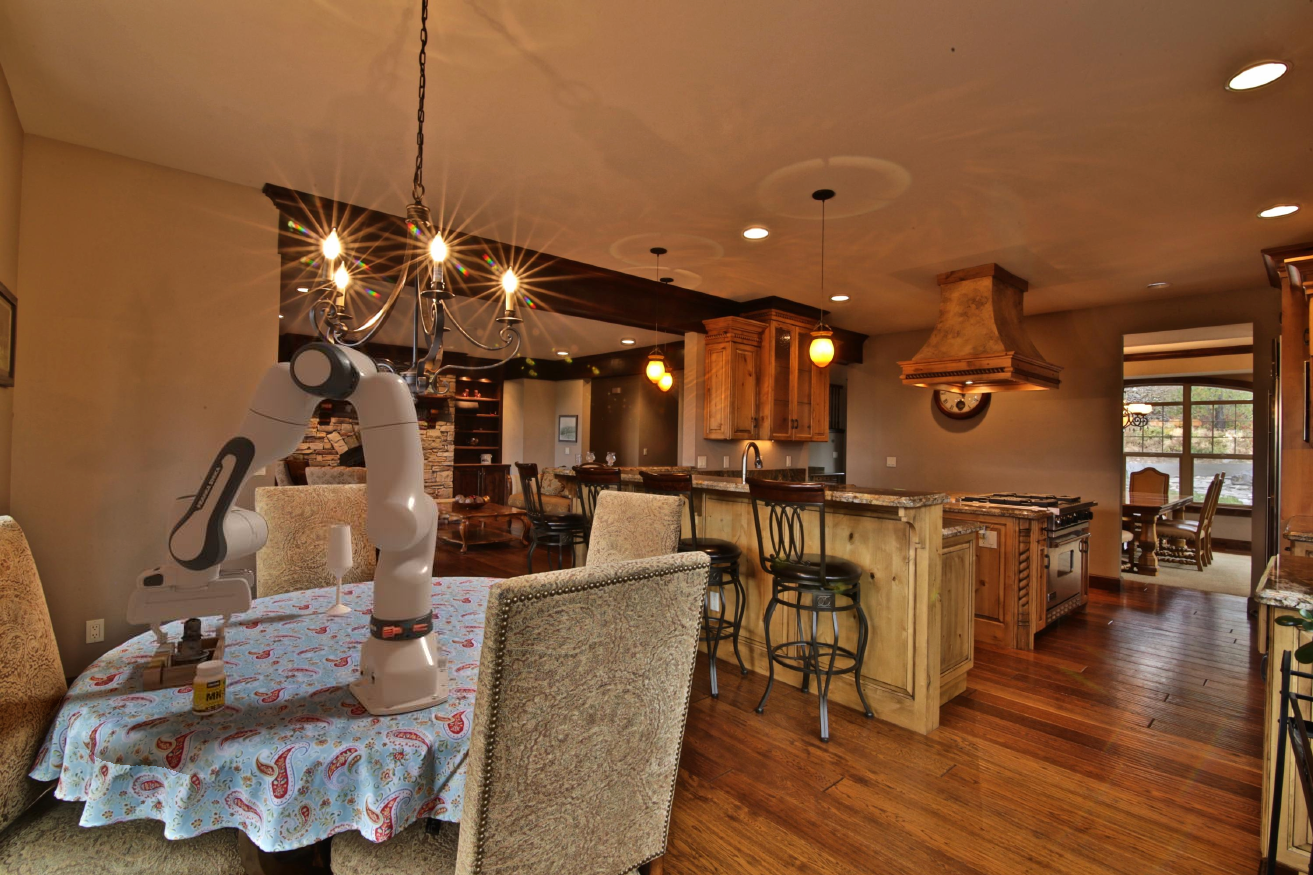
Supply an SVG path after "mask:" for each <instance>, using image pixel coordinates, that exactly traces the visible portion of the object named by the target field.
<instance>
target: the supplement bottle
mask: <svg viewBox="0 0 1313 875" xmlns="http://www.w3.org/2000/svg"><path fill="white" fill-rule="evenodd" d="M224 670H225V662H224V661H223V660H222V661H221V660H213V661H207V662H203V663H201V664H199V665H198V666H197V676H196V677H195V678H194V683H193V687H192V688H193V693H192V714H193V715H195V716H209V715H212V714H216V713H218V712H220V711H222V710H223V709H224V708H226V707H225V705H226V690H227V689H226V687H227V684H226V683H227V673H226V672H225V671H224Z"/></svg>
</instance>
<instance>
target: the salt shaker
mask: <svg viewBox="0 0 1313 875" xmlns="http://www.w3.org/2000/svg"><path fill="white" fill-rule="evenodd" d="M182 634H183V635H182V636H181V637H180V640H181V641H183V644H182V650H181V653H180V654H177V655H175V656H174V657H173V660H175V664H176V666H182V665H189V664H196V663H203V662H205V661H206V659H207V655H208V654H209V652H208V651H205V650H202V648H201V638H203V636H204V635H203V633H202V620H201V619H200V618H191V619H185V621H184V623H183V632H182Z"/></svg>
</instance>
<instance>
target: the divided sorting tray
mask: <svg viewBox="0 0 1313 875" xmlns="http://www.w3.org/2000/svg"><path fill="white" fill-rule="evenodd" d="M176 644H177V646H176ZM182 644H183V640H178V641H177V643H176V641H167V643H162V644H158V647H157V649H156V651H155V652H154V653H153V655H152V657H151V659H150V661H149V662H148V664H147V665H146V667H145V669H144V671H143V672H142V692H145V691H151V690H153V691H154V690H158V689H165V688H172V687H178V686H184V685H185V686H186V685H194V678H195V677H196V676H197V666H198V665H199V664H201V663H196V664H189V665H182V666H176V664H175V660H173V657H174V656H175V655H177V654H180V653H181V650H182ZM201 648H202V650H205V651H208V652H209V654H208V655H207V659H206V661H205V662H207V661H213V660H221V661H223V659H224V655H225V651H226V635H224V636H219V637H215V636H210V637H201Z"/></svg>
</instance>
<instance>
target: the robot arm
mask: <svg viewBox="0 0 1313 875" xmlns="http://www.w3.org/2000/svg"><path fill="white" fill-rule="evenodd" d="M326 399H331V400H335V401H348V402H349V403H351V405H352V406H353V407H354V409H355V411H356V414H357V419H358V425H359V432H360V438H361V445H362V451H363V457H364V462H365V471H366V472H365V474H366V476H365V477H366V480H365V481H366V483H365V484H366V486H365V487H366V488H365V489H366V490H365V493H366V494H365V497H366V498H365V499H366V503H365V504H366V506H365V507H366V519H365V524H364V530H365V534H366V535H365V536H366V538H367V539H368V541H369V542H370V544H372V545H373V547H375V548H377V549H378V550H379V554H378V560H377V564H376V568H375V571H374V574H373V592H372V593H373V595H372V596H373V598H372V599H373V602H372V613H371V614H370V619H369V633H370V635H369V637H368V638H367V639H366V640H365V641H364V642H363V643H362V644H361V646H360V659H359V660H360V661H359V676H358V678H357V679H355V680H353V681H351V682H350V683H349V687H348V690H349V691H350V692H351V693H352V694H353V696H354V697H355V698H356V699H357V700H358V701H359V703H360V704H361V705H362V706H363V707H364V709H366V710H367V712H368V713H369V714H371V715H379V716H382V715H385V716H387V715H394V714H401V713H402V714H403V713H408V712H414V711H418V710H422V709H423V710H424V709H426V708H430V707H435V706H436V705H439V704H442V703H444V702H446V701H448V700H449V699H450V693H449V692H450V691H449V690H450V689H449V688H450V687H449V672H448V667H447V656H446V655H441V656H440V655H439V656H438V653H440V652H443V644H438V640H439V634H438V633H437V632H435V631H434V614H433V613H434V612H433V609H432V607H431V606H432V605H431V604H432V583H433V582H432V581H433V580H432V578H433V576H432V575H433V567H434V566H433V565H434V559H435V551H436V542H437V532H438V521H439V508H438V504H437V503H436V501H435V499H434V498H433V497H432V496H431V495H430V494H428V493H426V492H425V482H424V481H425V479H424V468H425V467H424V464H425V457H424V450H423V445H422V437H421V433H420V426H419V420H418V416H417V411H416V407H415V403H414V399H413V396H412V394H411V391H410V388H409V386H408V383H407V381H406V380H405V379H404V377H402V376H401V375H398V374H396V373H393V372H388V371H381V367H380V366H379V364H378V363H377V361H376V360H375V359H374V358H373V357H372V356H370V355H369V354H367V353H365V352H364V351H360V350H356V349H354V348H351V347H350V346H347V345H343V344H338V343H337V344H336V343H331V342H326V341H317V342H311V343H307V344H305V345H303V346H301V347H300V348H298V349H297V350H296V351H295V352H294V353H293V355H292V356H291V359H290V362H289V361H285V362H276V363H275V364H272V365H271V366H270V367H269V368H268V369H267V371H266V372H265V373H264V374H263V377H262V378H261V380H260V381H259V383H258V384H257V386H256V389H255V391H254V393H253V394H252V397H251V399H250V401H249V404H248V407H247V410H246V412H245V414H244V417H243V418H242V420H241V423H240V424H239V426H238V427H237V430H235V432H234V434H233V435H232V436H231V437H230V438H229V440H228V441H227V442H226V443H225V444H224V445H223V447H222V448H221V449H220V451H219V452H218V454H217V455H216V457H215V459H214V461H213V463H212V464H211V466H210V468H209V470H208V472H207V474H206V475H205V478H204V480H203V482H202V484H201V485H200V487H199V489H198V492H197V493H196V494H189V495H188V494H187V495H182V496H179V497H177V498H176V499H174V500H173V501H172V503H171V505H170V507H169V510H168V517H167V521H166V522H167V523H166V524H167V525H166V541H167V543H168V544H167V545H168V553H167V555H166V559H165V564H164V565H161V566H157V567H155V568H151V569H148V570H146V571H143V572H142V573H140V574H139V575H138V576H137V577H136V579H135V586H136V587H137V588H135V590H133V592H132V593H131V594H130V597H129V600H128V605H127V611H126V622H128V623H129V624H130V625H132V626H133V625H145V624H150V625H149V628H150V630H151V631H152V632H153V633H154V635H155V636H156V644H157V645H160V644H162V643H167V642H169V641H168V640H169V632H168V631H165V632H163V631H162V629H161V628H160V626H161V624H162V622H172V621H180V620H188V619H191V618H198V619H200V618H209V617H215V616H217V617H218V616H222V620H223V623H222V624H221V625H218V626H216V627H215V636H214V637H219V636H225V633H226V629H225V628H226V627H227V625H228V624H229V622H230V621H231V620H232V616H233V615H237V614H245V613H247V612H249V610H250V609H252V604H253V603H252V601H253V600H252V599H253V598H252V591H251V588H252V587H253V586H254V584H255V575H254V572H252V571H251V570H250V569H247V568H243V567H242V568H237V569H234V568H233V569H231V568H230V569H221V564H222V563H225V562H229V561H234V560H237V559H239V558H243V557H246V556H250V555H251V554H255V553H256V552H259V551H260V550H261V549H263V548H264V546H265V545H266V544H267V541H268V538H269V533H270V532H269V525H268V522H267V521H266V518H264V517H263V515H262V514H261V513H259V512H257V511H255V510H251V509H249V510H248V509H245V508H242V507H239V506H237V505H235V504H236V502H237V499H238V497H239V496H240V494H241V492H242V490H243V488H244V486H245V484H246V483H247V481H248V480H249V479H250V478H251V477H252V476H254V475H255V474H257V473H258V472H259V471H261V470H263V469H265V468H266V467H267V466H269V465H272V464H273V463H275V462H278V461H281V460H284V459H285V458H288V457H289V456H291V455H292V454H293V453H295V452H296V451H297V450H298V448H299V447H300V445H301V444H302V443H303V441H304V439H305V436H306V434H307V431H308V429H309V425H310V424H311V423H310V422H311V420H312V418H313V414H314V412H315V409H316V407H317V406H318V405H319V403H321V402H322V401H323V400H326Z"/></svg>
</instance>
